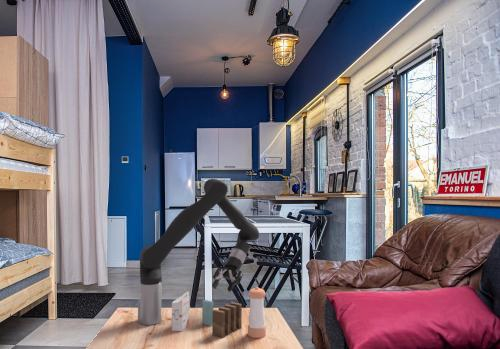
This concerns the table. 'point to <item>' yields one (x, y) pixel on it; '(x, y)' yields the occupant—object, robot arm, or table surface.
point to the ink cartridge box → (180, 313)
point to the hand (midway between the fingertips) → (221, 289)
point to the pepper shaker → (256, 313)
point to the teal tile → (207, 312)
